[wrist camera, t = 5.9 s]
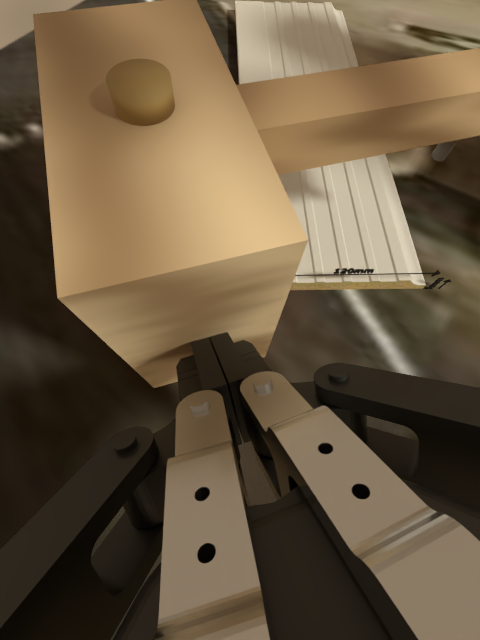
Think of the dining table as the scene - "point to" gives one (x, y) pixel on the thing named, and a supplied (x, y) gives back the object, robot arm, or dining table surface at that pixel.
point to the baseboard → (337, 179)
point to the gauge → (204, 169)
